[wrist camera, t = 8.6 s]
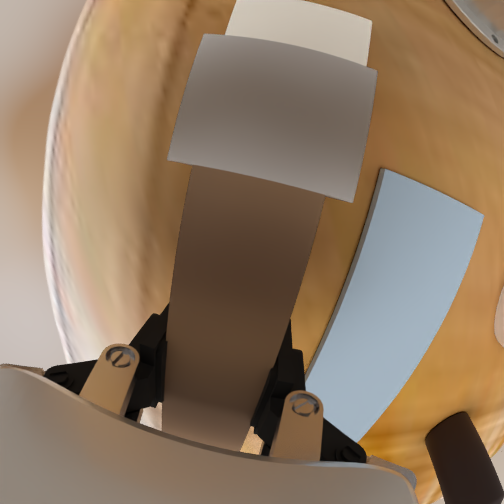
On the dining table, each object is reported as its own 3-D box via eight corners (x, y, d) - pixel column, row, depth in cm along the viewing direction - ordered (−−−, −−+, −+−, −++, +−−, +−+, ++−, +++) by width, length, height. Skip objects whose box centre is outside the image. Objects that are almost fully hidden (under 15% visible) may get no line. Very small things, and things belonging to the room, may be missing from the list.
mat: (380, 168, 14) (385, 168, 13) (477, 213, 14) (484, 215, 13) (270, 439, 23) (269, 445, 22) (348, 444, 22) (349, 450, 22)
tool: (226, 79, 10) (204, 33, 6) (344, 106, 9) (377, 70, 6) (168, 441, 15) (151, 482, 11) (235, 458, 15) (229, 502, 11)
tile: (203, 154, 15) (243, 6, 12) (333, 184, 15) (363, 32, 12) (194, 152, 14) (239, -9, 10) (341, 187, 14) (372, 20, 10)
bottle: (461, 429, 22) (499, 529, 3) (421, 448, 23) (450, 558, 4) (472, 403, 20) (524, 516, 1) (428, 426, 21) (468, 554, 2)
